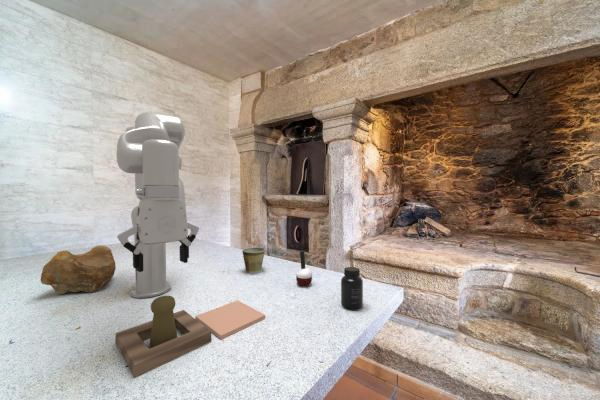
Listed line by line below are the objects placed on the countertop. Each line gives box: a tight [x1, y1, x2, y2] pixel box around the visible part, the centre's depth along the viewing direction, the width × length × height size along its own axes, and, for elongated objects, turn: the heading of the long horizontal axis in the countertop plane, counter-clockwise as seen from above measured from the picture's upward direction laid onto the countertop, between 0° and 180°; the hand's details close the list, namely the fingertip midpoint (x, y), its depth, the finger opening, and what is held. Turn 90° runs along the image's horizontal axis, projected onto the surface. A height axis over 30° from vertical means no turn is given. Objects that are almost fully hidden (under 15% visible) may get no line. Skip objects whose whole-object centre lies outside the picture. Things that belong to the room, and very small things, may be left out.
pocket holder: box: [115, 309, 212, 378], centre depth 60 cm, size 16×16×2 cm
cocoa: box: [295, 250, 313, 288], centre depth 97 cm, size 10×6×12 cm, turn 168°
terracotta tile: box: [195, 299, 266, 340], centre depth 71 cm, size 14×14×1 cm
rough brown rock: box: [40, 245, 117, 295], centre depth 93 cm, size 23×17×15 cm
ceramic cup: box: [242, 246, 266, 275], centre depth 114 cm, size 13×10×10 cm
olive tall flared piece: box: [148, 295, 178, 349], centre depth 60 cm, size 6×6×11 cm
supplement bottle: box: [340, 266, 364, 311], centre depth 80 cm, size 7×7×12 cm
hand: (162, 266), depth 59 cm, fingers open, 9 cm apart
